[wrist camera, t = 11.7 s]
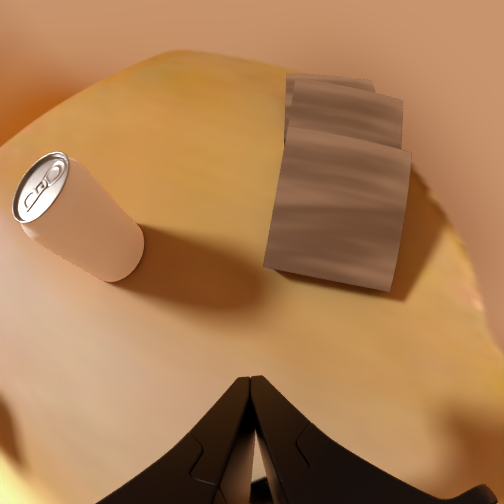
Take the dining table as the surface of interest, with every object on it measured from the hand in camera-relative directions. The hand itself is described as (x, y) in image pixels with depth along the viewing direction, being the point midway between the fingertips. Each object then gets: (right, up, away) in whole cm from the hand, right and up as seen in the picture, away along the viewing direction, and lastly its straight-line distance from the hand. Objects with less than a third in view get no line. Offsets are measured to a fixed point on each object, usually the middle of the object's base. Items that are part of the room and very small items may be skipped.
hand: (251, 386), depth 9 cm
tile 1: (+6, +2, +14) cm, 15 cm away
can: (-13, +4, +18) cm, 22 cm away
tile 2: (+7, +8, +15) cm, 19 cm away
